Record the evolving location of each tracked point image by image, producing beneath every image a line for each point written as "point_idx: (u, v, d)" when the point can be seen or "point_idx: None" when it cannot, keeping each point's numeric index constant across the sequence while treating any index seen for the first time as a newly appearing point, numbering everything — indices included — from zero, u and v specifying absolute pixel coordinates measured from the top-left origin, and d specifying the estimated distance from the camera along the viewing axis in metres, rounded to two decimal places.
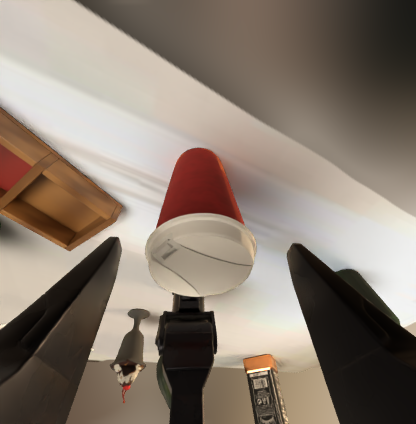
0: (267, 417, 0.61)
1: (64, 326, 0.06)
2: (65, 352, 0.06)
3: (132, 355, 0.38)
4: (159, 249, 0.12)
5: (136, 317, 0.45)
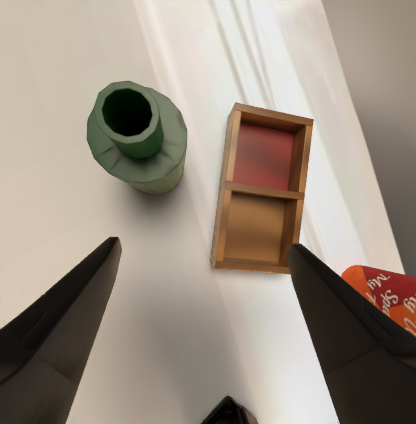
0: None
1: (64, 326, 0.06)
2: (65, 352, 0.06)
3: None
4: None
5: None
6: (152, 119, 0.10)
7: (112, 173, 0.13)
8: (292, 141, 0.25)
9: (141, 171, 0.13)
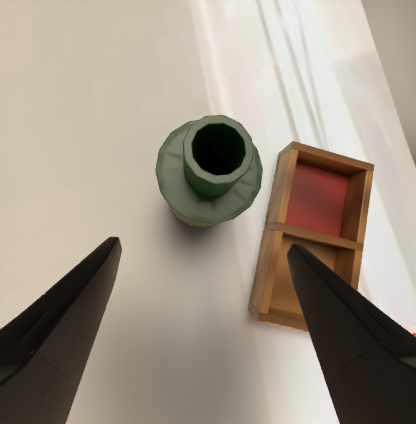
0: None
1: (64, 326, 0.06)
2: (65, 352, 0.06)
3: None
4: None
5: None
6: (245, 158, 0.09)
7: (177, 209, 0.11)
8: (346, 184, 0.23)
9: (208, 210, 0.12)
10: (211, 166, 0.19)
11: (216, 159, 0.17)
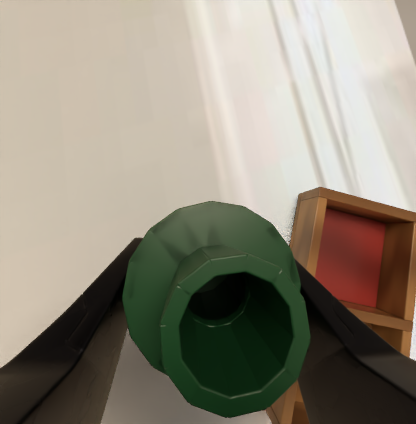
0: None
1: (104, 326, 0.06)
2: (103, 351, 0.06)
3: None
4: None
5: None
6: (292, 347, 0.04)
7: (159, 368, 0.07)
8: (382, 234, 0.19)
9: None
10: None
11: None
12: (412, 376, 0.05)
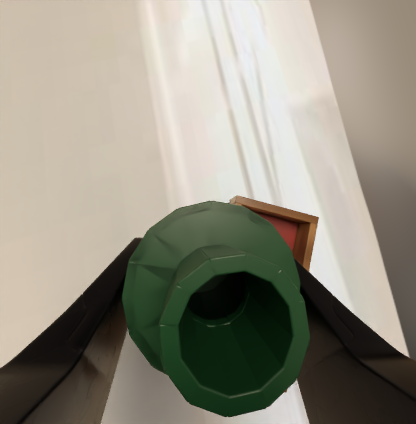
0: None
1: (104, 325, 0.06)
2: (104, 351, 0.06)
3: None
4: None
5: None
6: (292, 347, 0.04)
7: (159, 368, 0.07)
8: (296, 231, 0.24)
9: None
10: None
11: None
12: (412, 376, 0.05)
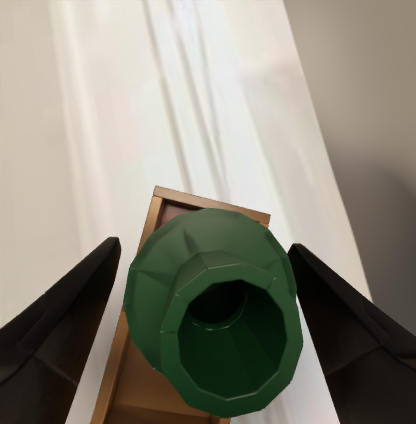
0: None
1: (63, 326, 0.06)
2: (64, 352, 0.06)
3: None
4: None
5: None
6: (286, 351, 0.04)
7: (160, 370, 0.07)
8: None
9: None
10: None
11: None
12: None
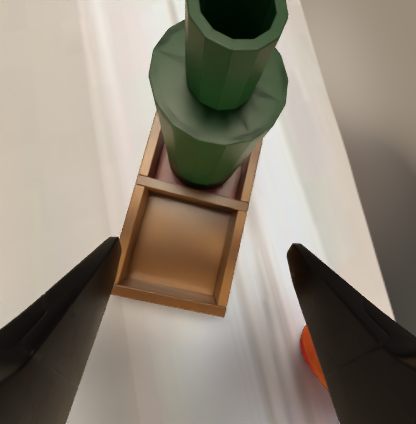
0: None
1: (64, 326, 0.06)
2: (65, 352, 0.06)
3: None
4: None
5: None
6: (275, 20, 0.06)
7: (178, 126, 0.09)
8: None
9: (218, 129, 0.09)
10: None
11: None
12: None
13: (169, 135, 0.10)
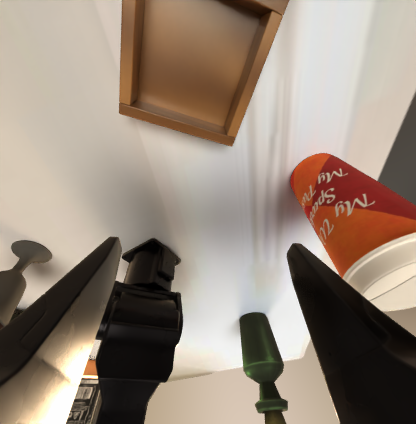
0: None
1: (64, 326, 0.06)
2: (65, 352, 0.06)
3: (2, 311, 0.22)
4: None
5: (28, 255, 0.28)
6: None
7: None
8: None
9: None
10: None
11: None
12: None
13: None
